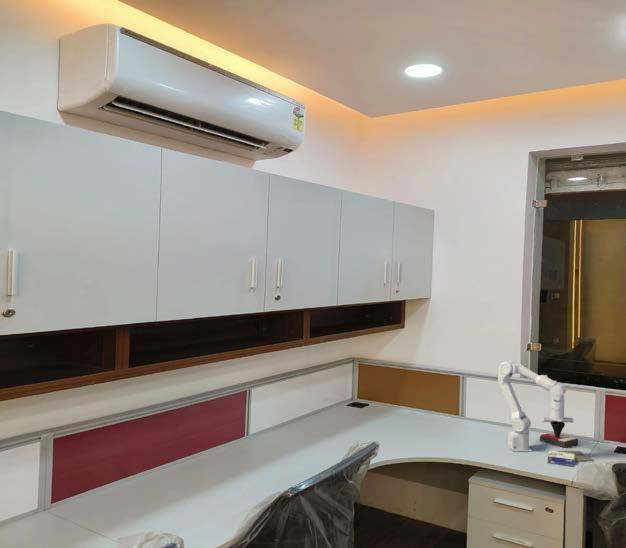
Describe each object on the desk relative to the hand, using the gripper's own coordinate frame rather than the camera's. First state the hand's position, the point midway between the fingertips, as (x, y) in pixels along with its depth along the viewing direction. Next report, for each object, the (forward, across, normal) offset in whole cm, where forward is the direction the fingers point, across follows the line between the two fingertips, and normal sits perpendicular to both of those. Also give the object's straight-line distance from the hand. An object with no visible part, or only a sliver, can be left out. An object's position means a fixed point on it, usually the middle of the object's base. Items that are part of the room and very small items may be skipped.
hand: (557, 437), depth 269 cm
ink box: (+8, +2, -1) cm, 8 cm away
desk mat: (+9, +9, 0) cm, 13 cm away
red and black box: (+10, +11, +21) cm, 26 cm away
